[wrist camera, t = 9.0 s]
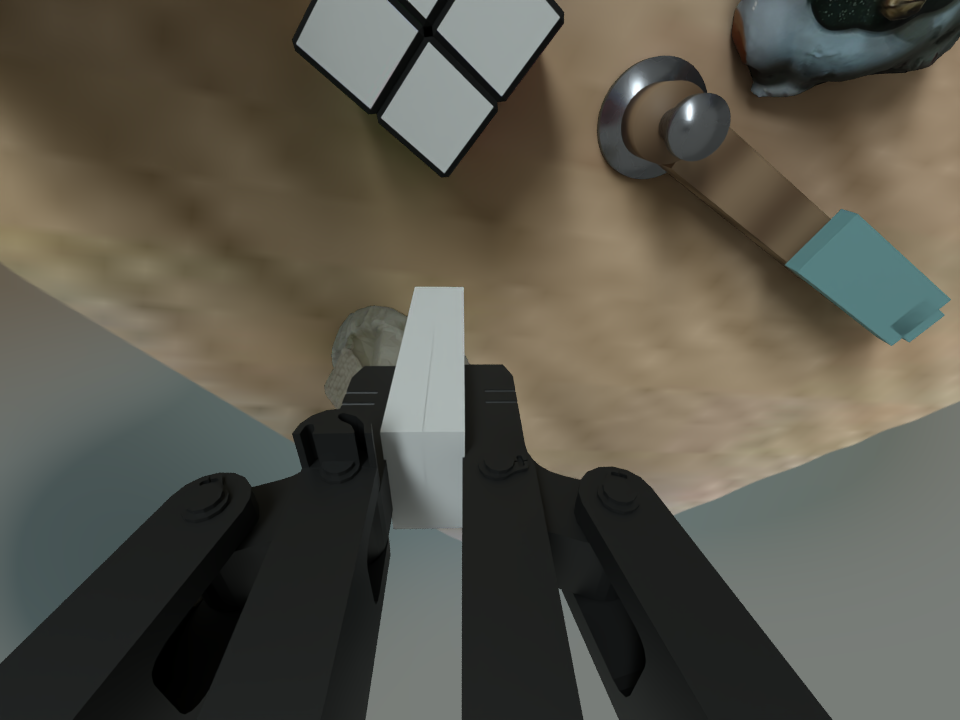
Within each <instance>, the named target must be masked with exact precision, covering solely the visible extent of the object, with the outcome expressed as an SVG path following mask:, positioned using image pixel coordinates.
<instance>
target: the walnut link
mask: <svg viewBox="0 0 960 720" xmlns="http://www.w3.org/2000/svg"><path fill="white" fill-rule="evenodd" d="M698 93H704V92H703V91H702V89H701V88H700V87H699V86H697V85H696V84H694V83H692V82H689V81H684V80H679V81H661V82H655V83H652V84H649V85H647V86H645V87H644V88H642V89H641V90H640V91H638V92H637V93H636V94H635V95H634V96H633V98H632V99H631V100H630V102H629V103H628V105H627V107H626V109H625V111H624V114H623V117H622V122H621V136H622V140H623V142H624V145H625V146H626V148H627V149H628V151H629V152H631V153H632V154H633V155H635V156H637V157H639V158H642V159H644V160H647V161H650V162H652V163H656V164H658V165H659V166H660V167H661V168H662V169H664V170H665V171H666V172H667V173H669V174H670V175H671V176H672V177H674V178H675V179H676V180H677V181H679V182H680V183H681V184H682V185H684V186H685V187H686V188H687V189H689V190H690V191H691V192H692V193H694V194H695V195H696V196H697V197H699V198H700V199H701V200H702V201H704V202H705V203H706V204H707V205H709V206H710V207H711V208H712V209H714V210H715V211H716V212H717V213H719V214H720V215H721V216H722V217H724V218H725V219H726V220H727V221H729V222H730V223H731V224H732V225H734V226H735V227H736V228H737V229H739V230H740V231H741V232H742V233H744V234H745V235H746V236H747V237H749V238H750V239H751V240H752V241H754V242H755V243H756V244H757V245H759V246H760V247H761V248H762V249H764V250H765V251H766V252H767V253H769V254H770V255H771V256H772V257H773V258H775V259H776V260H777V261H778V262H780V263H781V264H782V265H783V266H785V264H786V263H787V262H788V261H789V260H790V259H791V258H792V257H793V256H794V255H795V254H796V253H797V252H798V251H799V250H800V249H801V248H802V247H803V246H804V245H805V244H806V243H808V242H809V241H810V240H811V239H812V238H813V237H814V236H815V235H816V234H817V233H818V232H819V231H820V230H821V229H822V228H823V227H824V226H825V225H826V224H827V223H828V222H829V221H830V220H831V219H830V218H829V217H828V216H827V215H826V214H825V213H824V212H822V211H821V210H820V209H819V208H818V207H817V206H816V205H815V204H814V203H812V202H811V201H810V200H809V199H808V198H807V197H806V196H805V195H804V194H803V193H801V192H800V191H799V190H798V189H797V188H796V187H795V186H794V185H793V184H792V183H790V182H789V181H788V180H787V179H786V178H785V177H784V176H783V175H782V174H780V173H779V172H778V171H777V170H776V169H775V168H774V167H773V166H772V165H771V164H769V163H768V162H767V161H766V160H765V159H764V158H763V157H762V156H761V155H760V154H758V153H757V152H756V151H755V150H754V149H753V148H752V147H751V146H750V145H748V144H747V143H746V142H745V141H744V140H743V139H742V138H741V137H740V136H739V135H737V134H736V133H735V132H734V131H733V130H732V129H731V128H730V127H729V130H728V133H727V135H726V137H725V139H724V141H723V142H722V144H721V145H720V146H719V148H718V149H717V150H716V151H715V152H713V153H712V154H711V155H709V156H708V157H706V158H704V159H701V160H698V161H685V160H682V159H678V158H676V157H674V156H673V155H672V154H671V153H670V152H669V151H668V150H667V148H666V145H665V141H664V139H663V138H662V137H661V136H660V134H659V123H660V120H661V118H662V116H663V115H664V114H665V113H666V112H667V111H668V110H670V109H672V108H675V106H676V105H677V104H678V103H679V102H681V101H682V100H683V99H685V98H686V97H688V96H690V95H693V94H698ZM785 267H786V268H787V269H788V270H790V269H789V268H788V267H787V266H785ZM790 271H791V272H792V273H793V274H795V275H796V276H797V277H799V276H798V275H797V274H796V273H794V272H793V271H792V270H790ZM799 278H800V279H802V278H801V277H799ZM802 280H803V279H802Z"/></svg>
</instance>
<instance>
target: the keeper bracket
mask: <svg viewBox="0 0 960 720" xmlns="http://www.w3.org/2000/svg"><path fill="white" fill-rule="evenodd" d="M785 266H787V267H788V268H789V269H790V270H792V271H793V272H794V273H796V274H797V275H798V276H799V277H801V278H802V279H803V280H804V281H806V282H807V283H808V284H810V285H811V286H812V287H813V288H815V289H816V290H817V291H819V292H820V293H821V294H822V295H824V296H825V297H826V298H827V299H829V300H830V301H831V302H833V303H834V304H835V305H836V306H838V307H839V308H840V309H842V310H843V311H844V312H845V313H847V314H848V315H849V316H850V317H852V318H853V319H854V320H856V321H857V322H858V323H859V324H861V325H862V326H863V327H865V328H866V329H867V330H868V331H870V332H871V333H872V334H873V335H875V336H876V337H877V338H879V339H881V340H882V341H884V342H886V343H887V344H889V345H891V346H892V345H894V344H895V343H896V342H898V341H899V340H900V339H901V338H902V339H904V340H906V341H908V342H911V341H912V340H913V339H915V338H916V337H917V336H918V335H920V334H921V333H922V332H924V331H925V330H926V329H928V328H929V327H930V326H931V325H933V324H934V323H935V322H937V321H938V320H939V319H941V318H942V317H943V316H944V314H943V313H942V312H941V311H940V310H939V309H940V308H941V307H942V306H944V305H945V304H946V303H948V302H949V301H950V300H951V299H950V298H949V297H948V296H946V295H945V294H944V293H943V292H942V291H941V290H940V289H939V288H938V287H937V286H936V285H934V284H933V283H932V282H931V281H930V280H929V279H928V278H927V277H926V276H925V275H924V274H922V273H921V272H920V271H919V270H918V269H917V268H916V267H915V266H914V265H913V264H912V263H911V262H909V261H908V260H907V259H906V258H905V257H904V256H903V255H902V254H901V253H900V252H899V251H897V250H896V249H895V248H894V247H893V246H892V245H891V244H890V243H889V242H888V241H887V240H885V239H884V238H883V237H882V236H881V235H880V234H879V233H878V232H877V231H876V230H875V229H873V228H872V227H871V226H870V225H869V224H868V223H867V222H866V221H865V220H864V219H863V218H861V217H860V216H859V215H858V214H856V213H853V212H850V211H846V210H843V209H841V210H840V211H839V212H838V213H837V214H836V215H835V216H834V217H833V218H832V219H831V220H830V221H829V222H828V223H827V224H826V225H825V226H824V227H823V228H822V229H821V230H820V231H819V232H818V233H817V234H816V235H815V236H814V237H813V238H812V239H811V240H810V241H809V242H808V243H806V244H805V245H804V246H803V247H802V248H801V249H800V250H799V251H798V252H797V253H796V254H795V255H794V256H793V257H792V258H791V259H790V260H789V261H788V262H787V263H786V264H785Z"/></svg>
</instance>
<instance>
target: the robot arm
mask: <svg viewBox="0 0 960 720" xmlns="http://www.w3.org/2000/svg"><path fill="white" fill-rule="evenodd" d="M346 392H347V393H346V394H345V396H344V399H343V401H342V406H341V407H340V409H334V410H326V411H324V412H321V413H318V414H315V415H313V416H311V417H309V418H308V419H306V420H305V421H303V422H302V423H300V424H299V426H298V427H297V428H296V430H295V431H294V432H293V433H292V435H293V438H294V442H295V445H296V449H297V452H298V456H299V459H300V463H301V466H302V470H301V472H300V473H298V474H296V475H294V476H291V477H288V478H285V479H282V480H278V481H275V482H270V483H267V484H263V485H259V486H255V487H251V485H250V484H249V482H248V481H247V479H246V478H245V477H243V476H240V475H238V474H236V473H216V474H212V475H208V476H204V477H201V478H199V479H197V480H195V481H193V482H191V483H189V484H187V485H185V486H184V487H183V488H181V489H180V490H179V491H177V492H176V493H175V494H174V495H172V496H171V497H170V498H169V499H168V500H167V501H166V502H165V503H164V504H163V505H162V506H161V507H160V508H159V509H158V510H157V511H156V512H155V513H154V514H153V515H152V516H151V517H150V518H149V519H148V520H147V521H146V522H145V523H144V524H142V525H141V526H140V527H139V528H138V529H137V530H136V531H135V532H134V533H133V534H132V535H131V536H130V537H129V538H128V539H127V540H126V541H125V542H124V543H123V544H122V545H121V546H120V547H119V548H118V549H117V550H116V551H115V552H114V553H113V554H112V555H111V556H110V557H109V558H108V559H107V560H106V561H105V562H104V563H103V564H102V565H101V566H100V567H99V568H98V569H97V570H95V571H94V572H93V573H92V574H91V575H90V576H89V577H88V578H87V579H86V580H85V581H84V582H83V583H82V584H81V585H80V586H79V587H78V588H77V589H76V590H75V591H74V592H73V593H72V594H71V595H70V596H69V597H68V598H67V599H66V600H65V601H64V602H63V603H62V604H61V605H60V606H59V607H58V608H57V609H56V610H55V611H54V612H53V613H52V614H51V615H50V616H49V617H48V618H46V620H44V622H42V623H41V624H40V625H39V626H38V627H37V628H36V629H35V630H34V631H33V632H32V633H31V634H30V635H29V636H28V637H27V638H26V639H25V640H24V641H23V642H22V643H21V644H20V645H19V646H18V647H17V648H16V649H15V650H14V651H13V652H12V653H11V654H10V655H9V656H8V657H7V658H6V659H5V660H4V661H3V662H2V663H1V664H0V720H365V718H366V712H367V705H368V699H369V692H370V686H371V678H372V672H373V666H374V658H375V652H376V645H377V639H378V632H379V626H380V619H381V612H382V606H383V600H384V593H385V586H386V580H387V573H388V567H389V560H390V543H389V530H390V524H391V518H392V521H393V529H421V528H422V529H424V528H425V529H426V528H462V720H583V716H582V710H581V705H580V699H579V695H578V689H577V684H576V679H575V674H574V668H573V663H572V658H571V653H570V647H569V642H568V637H567V631H566V627H565V622H564V616H563V611H562V605H561V600H560V595H559V589H562V592H563V594H564V596H565V599H566V601H567V603H568V605H569V607H570V610H571V612H572V614H573V617H574V619H575V621H576V623H577V626H578V628H579V630H580V632H581V635H582V637H583V639H584V641H585V643H586V646H587V648H588V651H589V653H590V655H591V657H592V659H593V662H594V664H595V666H596V669H597V671H598V673H599V675H600V678H601V680H602V682H603V684H604V687H605V689H606V691H607V694H608V696H609V698H610V700H611V703H612V705H613V707H614V709H615V712H616V714H617V716H618V718H619V720H832V719H831V717H830V716H829V715H828V714H827V712H826V711H825V710H824V708H823V707H822V706H821V704H820V703H819V702H818V701H817V699H816V698H815V697H814V696H813V694H812V693H811V692H810V690H809V689H808V688H807V686H806V685H805V684H804V683H803V681H802V680H801V679H800V678H799V676H798V675H797V674H796V672H795V671H794V670H793V669H792V667H791V666H790V665H789V663H788V662H787V661H786V660H785V658H784V657H783V656H782V654H781V653H780V652H779V651H778V649H777V648H776V647H775V645H774V644H773V643H772V642H771V640H770V639H769V638H768V636H767V635H766V634H765V633H764V631H763V630H762V629H761V628H760V626H759V625H758V624H757V622H756V621H755V620H754V619H753V617H752V616H751V615H750V613H749V612H748V611H747V610H746V608H745V607H744V606H743V604H742V603H741V602H740V601H739V599H738V598H737V597H736V595H735V594H734V593H733V592H732V590H731V589H730V588H729V586H728V585H727V584H726V583H725V581H724V580H723V579H722V577H721V576H720V575H719V574H718V572H717V571H716V570H715V569H714V567H713V566H712V565H711V563H710V562H709V561H708V560H707V558H706V557H705V556H704V554H703V553H702V552H701V551H700V549H699V548H698V547H697V546H696V544H695V543H694V542H693V540H692V539H691V538H690V537H689V535H688V534H687V533H686V531H685V530H684V529H683V527H682V526H681V525H680V524H679V522H678V521H677V520H676V519H675V517H674V516H673V515H672V513H671V512H670V511H669V509H668V508H667V507H666V506H665V504H664V503H663V502H662V501H661V499H660V498H659V497H658V495H657V494H656V493H655V492H654V490H653V489H652V488H651V487H650V486H649V485H648V484H647V483H646V482H645V481H644V480H643V479H642V478H641V477H639V476H637V475H635V474H633V473H631V472H629V471H628V470H624V469H620V468H616V467H598V468H596V469H593V470H591V471H588V472H587V473H586V474H585V475H584V476H583V478H582V479H581V480H578V479H574V478H570V477H566V476H563V475H559V474H556V473H553V472H550V471H548V470H546V469H545V468H543V467H541V466H540V465H538V464H537V463H536V462H535V461H534V460H533V459H532V458H531V456H530V455H529V454H528V452H527V449H526V446H525V442H524V436H523V431H522V425H521V420H520V414H519V408H518V403H517V397H516V392H515V386H514V380H513V376H512V375H511V373H510V372H509V371H508V370H507V369H506V368H505V367H504V366H503V365H464V287H415V289H414V293H413V297H412V301H411V306H410V310H409V314H408V318H407V322H406V326H405V331H404V335H403V339H402V343H401V347H400V351H399V356H398V360H397V364H396V366H364V367H363V368H362V369H361V370H359V371H358V372H357V373H356V374H355V375H354V376H353V377H352V378H351V381H350V383H349V386H348V389H347V391H346ZM558 588H559V589H558Z"/></svg>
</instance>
